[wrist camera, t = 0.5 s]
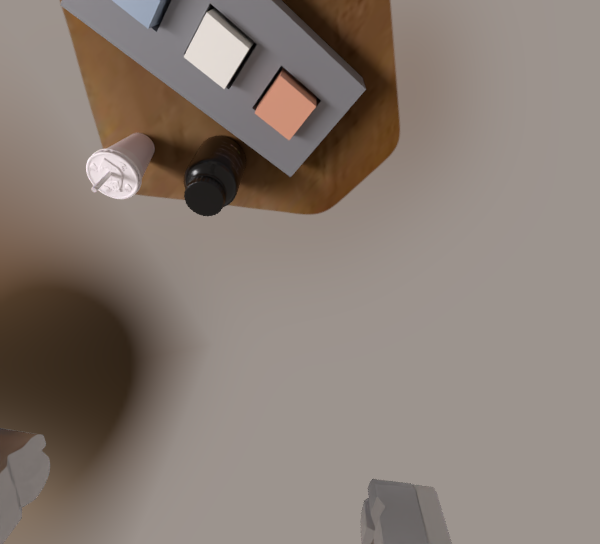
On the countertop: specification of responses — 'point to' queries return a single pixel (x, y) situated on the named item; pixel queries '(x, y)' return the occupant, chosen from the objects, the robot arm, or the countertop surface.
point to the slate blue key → (145, 10)
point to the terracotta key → (286, 104)
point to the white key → (218, 48)
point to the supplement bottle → (214, 175)
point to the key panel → (250, 75)
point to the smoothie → (120, 166)
